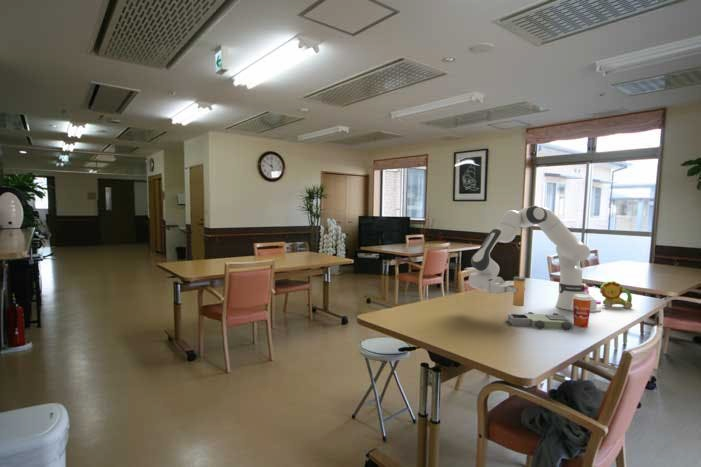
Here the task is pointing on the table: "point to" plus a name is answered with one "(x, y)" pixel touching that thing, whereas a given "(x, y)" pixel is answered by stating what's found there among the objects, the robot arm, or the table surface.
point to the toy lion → (615, 294)
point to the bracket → (595, 300)
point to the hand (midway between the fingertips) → (520, 289)
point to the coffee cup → (581, 309)
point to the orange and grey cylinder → (519, 291)
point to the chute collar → (519, 319)
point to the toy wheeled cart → (550, 321)
